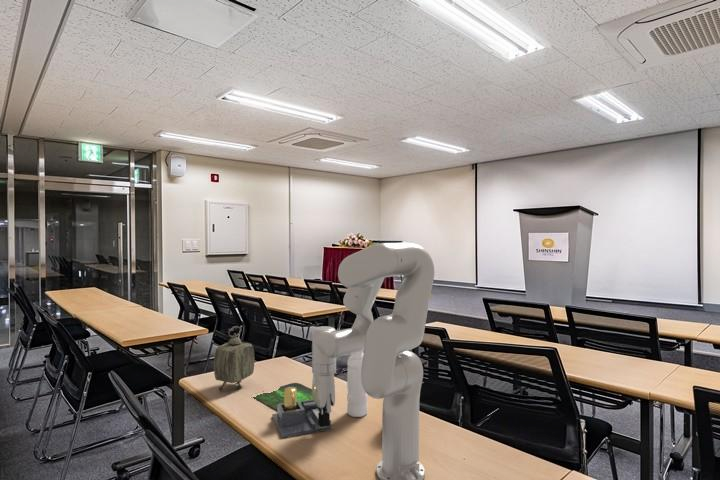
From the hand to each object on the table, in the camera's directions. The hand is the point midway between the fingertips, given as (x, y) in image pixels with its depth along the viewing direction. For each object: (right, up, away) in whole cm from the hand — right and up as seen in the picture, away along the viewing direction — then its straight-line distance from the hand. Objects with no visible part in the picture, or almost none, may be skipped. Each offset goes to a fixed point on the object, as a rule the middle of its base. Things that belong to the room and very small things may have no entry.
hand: (323, 425), depth 130 cm
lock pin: (-2, -1, +6) cm, 6 cm away
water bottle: (+10, -3, +15) cm, 18 cm away
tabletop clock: (-39, -2, +39) cm, 55 cm away
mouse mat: (-15, -3, +28) cm, 32 cm away
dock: (-8, -3, +7) cm, 11 cm away
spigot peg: (-12, -2, +8) cm, 14 cm away
